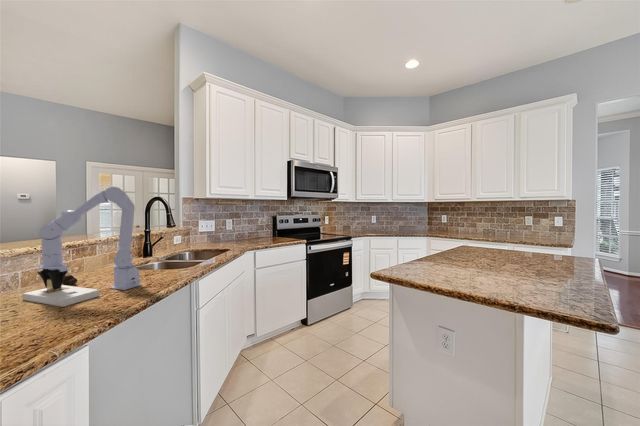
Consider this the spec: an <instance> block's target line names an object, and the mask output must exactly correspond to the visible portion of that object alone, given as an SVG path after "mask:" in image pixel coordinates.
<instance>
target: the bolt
mask: <svg viewBox="0 0 640 426" xmlns="http://www.w3.org/2000/svg"><path fill="white" fill-rule="evenodd" d="M77 282H78V278H77V277H74V275H72V274H66V275H65V277H64V279H63V282H62V285H66V286H75V285H76V284H77Z"/></svg>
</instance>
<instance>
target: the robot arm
mask: <svg viewBox="0 0 640 426" xmlns="http://www.w3.org/2000/svg"><path fill="white" fill-rule="evenodd" d="M109 202H111V203H113V204H115V205H116V206H118V207H119V209H121V217H120V228H119V237H118V238H119V239H118V245H117V246H118V248H117V253H116V255H115V257H114V259H113V263H114V266H113V282H114V283H113V285H112V286H109V287H108V288H109V289H114V290H123V291H125V290H128V289H129V290H130V289H133V288H136V287H139V286H142V283H140V280H141V279H140V270H139V269H138V268H137V267H135V264H134V263H133V256H134V255H133V253H132V251H131V249H132V240H133V239H132V238H133V229H134V228H133V227H134V226H133V225H134V218H135V217H134V216H135V204H134V203H133V201H132V200H131V198H130V197H129V195H128V194H127V193H126V192H125V191H124V190H123V189H121V188H119V187H117V186H109V187H108V188H106V189H105V190H102V191H100V192H99V193H97V194H95V195H94V196H92V197H91V198H89V199H88V200H86V201H85V202H84V203H82V204H81V205H80V206H78V207H77V208H76V209H74V210H73V209H72V210H70V209H67V211H65V210H64V211H62V212H60V215H59V216H57V217H55V219H51V220H49V221H48V223H46V224H43V225H42V226H41V227H40V229H38V233H39V236H40V237H41V262H42V263H41V264H38V268H37V269H38V270H39V271H38V272H37V274H38V275H39V276H40V278H41V280H42V282H43V284H44V286H45V288H47V279H49V278H50V279H51V282H52V287H53V289H59V288H61V286H62V285H63V284H62V282H63V279H64V277H65V276H66V275H67V274H68V272H69V270H68V269H69V268H68V265H66V264H64V263H63V242H62V235H63V234H64V232H66V231H68V230H69V229H71V228H72V227H74V226H75V225H77V224H78V223H79V222H81V221H82V216H83V215H84V214H87V213H88V212H89V211H91V210H93V209H94V208H95V207H97V206H98V205H101V204H106V203H109Z"/></svg>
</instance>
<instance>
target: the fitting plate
mask: <svg viewBox="0 0 640 426" xmlns="http://www.w3.org/2000/svg"><path fill="white" fill-rule="evenodd" d="M100 292H101V291H100V289H96V288H89V287H81V286H75V285H63V284H62V286H61V290H60V291H56V292H52V293H47V288H46V287H45V288H41V289H36V290H32V291H28V292H23V293H22V300H23V301H26V302H33V303H38V304H39V303H40V304H44V305H51V306H56V307H67V306H70V305H74V304H77V303H80V302H84V301H88V300H91V299H94V298H97V297H100V294H101V293H100Z"/></svg>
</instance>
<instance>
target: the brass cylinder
mask: <svg viewBox="0 0 640 426" xmlns="http://www.w3.org/2000/svg"><path fill="white" fill-rule="evenodd" d="M60 290H61V288H59V289H53V287H52V282H51V279H50V278H49V279H47V293H52V292H56V291H60Z"/></svg>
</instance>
